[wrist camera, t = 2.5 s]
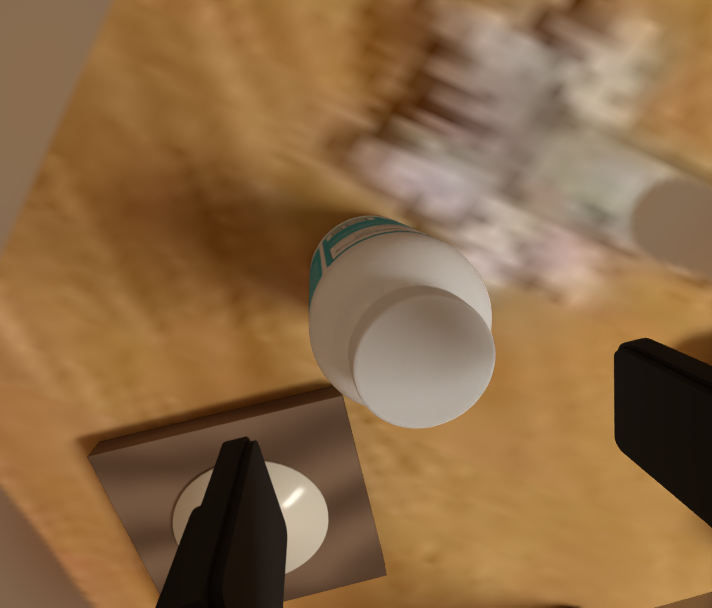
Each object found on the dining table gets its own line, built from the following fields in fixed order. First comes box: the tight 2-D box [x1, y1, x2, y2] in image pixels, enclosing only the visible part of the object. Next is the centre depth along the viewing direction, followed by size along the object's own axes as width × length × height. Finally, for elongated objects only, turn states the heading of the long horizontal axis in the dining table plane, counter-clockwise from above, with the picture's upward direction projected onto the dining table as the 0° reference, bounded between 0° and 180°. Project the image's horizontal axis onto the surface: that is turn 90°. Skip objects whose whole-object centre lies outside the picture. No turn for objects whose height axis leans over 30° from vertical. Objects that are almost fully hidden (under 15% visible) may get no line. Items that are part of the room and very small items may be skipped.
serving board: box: [87, 386, 387, 602], centre depth 29 cm, size 17×17×2 cm
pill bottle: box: [309, 215, 495, 428], centre depth 19 cm, size 8×7×14 cm
